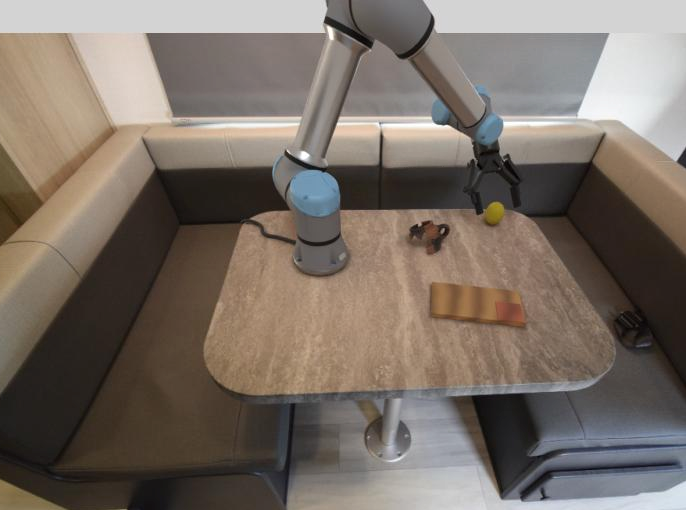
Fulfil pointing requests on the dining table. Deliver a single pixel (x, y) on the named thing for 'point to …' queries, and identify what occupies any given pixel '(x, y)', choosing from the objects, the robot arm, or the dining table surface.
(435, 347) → the dining table surface
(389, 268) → the dining table surface
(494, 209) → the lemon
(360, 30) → the robot arm
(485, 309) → the board
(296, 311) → the dining table surface
